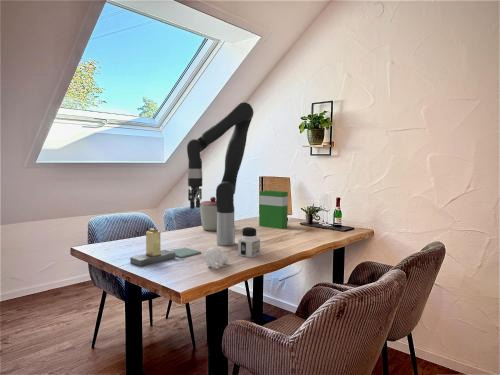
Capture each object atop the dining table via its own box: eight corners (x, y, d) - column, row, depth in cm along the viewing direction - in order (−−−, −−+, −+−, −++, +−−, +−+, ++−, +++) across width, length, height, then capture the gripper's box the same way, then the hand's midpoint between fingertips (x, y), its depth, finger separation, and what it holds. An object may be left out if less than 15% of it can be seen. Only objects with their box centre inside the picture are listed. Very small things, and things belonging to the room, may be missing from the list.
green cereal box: (259, 226, 246) (259, 191, 244) (264, 224, 252) (265, 190, 250) (281, 229, 236) (282, 192, 234) (287, 227, 242) (287, 191, 240)
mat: (185, 249, 181) (185, 247, 181) (201, 253, 173) (201, 251, 173) (165, 253, 172) (165, 251, 172) (180, 258, 164) (180, 256, 164)
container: (251, 257, 166) (252, 230, 165) (237, 255, 170) (238, 228, 169) (260, 254, 173) (260, 227, 172) (246, 251, 177) (246, 225, 176)
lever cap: (154, 258, 163) (153, 227, 162) (160, 260, 160) (160, 229, 159) (146, 260, 160) (146, 228, 159) (152, 262, 157) (152, 230, 156)
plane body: (165, 254, 169) (165, 249, 169) (175, 258, 164) (175, 252, 164) (130, 262, 156) (130, 257, 156) (140, 266, 151) (140, 260, 151)
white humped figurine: (203, 247, 150) (222, 244, 159) (202, 267, 150) (221, 263, 159) (214, 249, 146) (233, 246, 156) (213, 270, 146) (232, 266, 156)
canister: (211, 225, 245) (211, 194, 243) (232, 229, 234) (232, 196, 233) (192, 229, 230) (192, 197, 229) (214, 233, 220) (214, 199, 218)
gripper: (197, 177, 183) (197, 209, 183) (206, 177, 197) (206, 207, 197) (183, 177, 184) (183, 209, 184) (193, 177, 198) (193, 207, 198)
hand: (195, 208), depth 191 cm, fingers open, 8 cm apart
